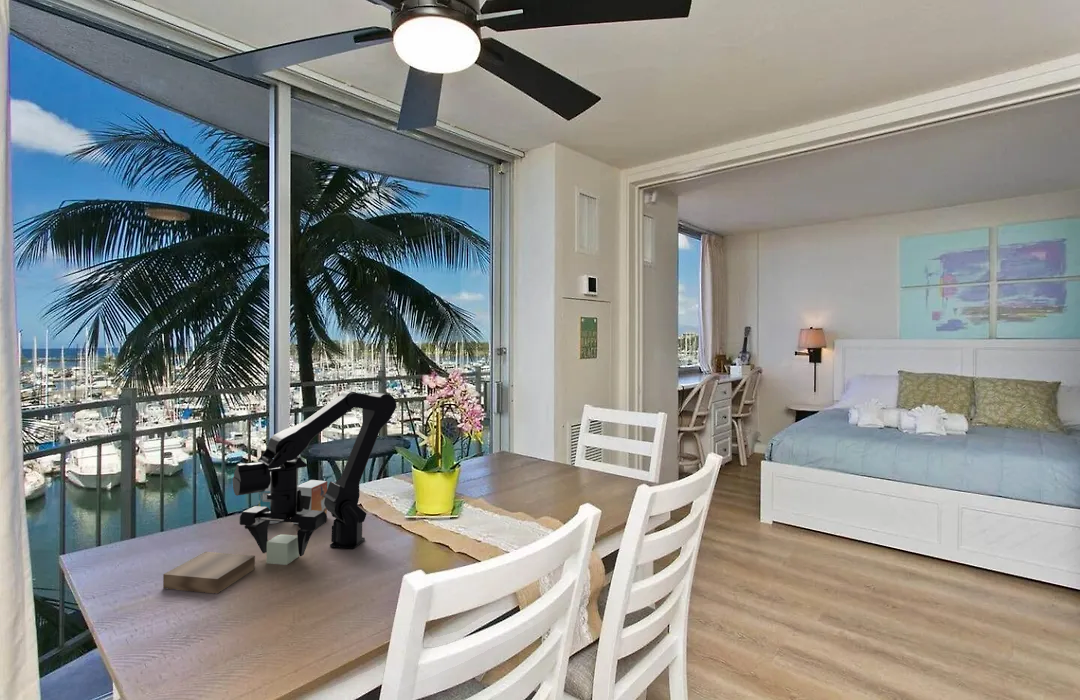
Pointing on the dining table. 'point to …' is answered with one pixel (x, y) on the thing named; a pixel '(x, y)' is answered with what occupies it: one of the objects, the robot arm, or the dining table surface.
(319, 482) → the small box
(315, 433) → the robot arm
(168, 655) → the dining table surface
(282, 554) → the sage block
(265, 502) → the pill bottle
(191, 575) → the walnut plinth
